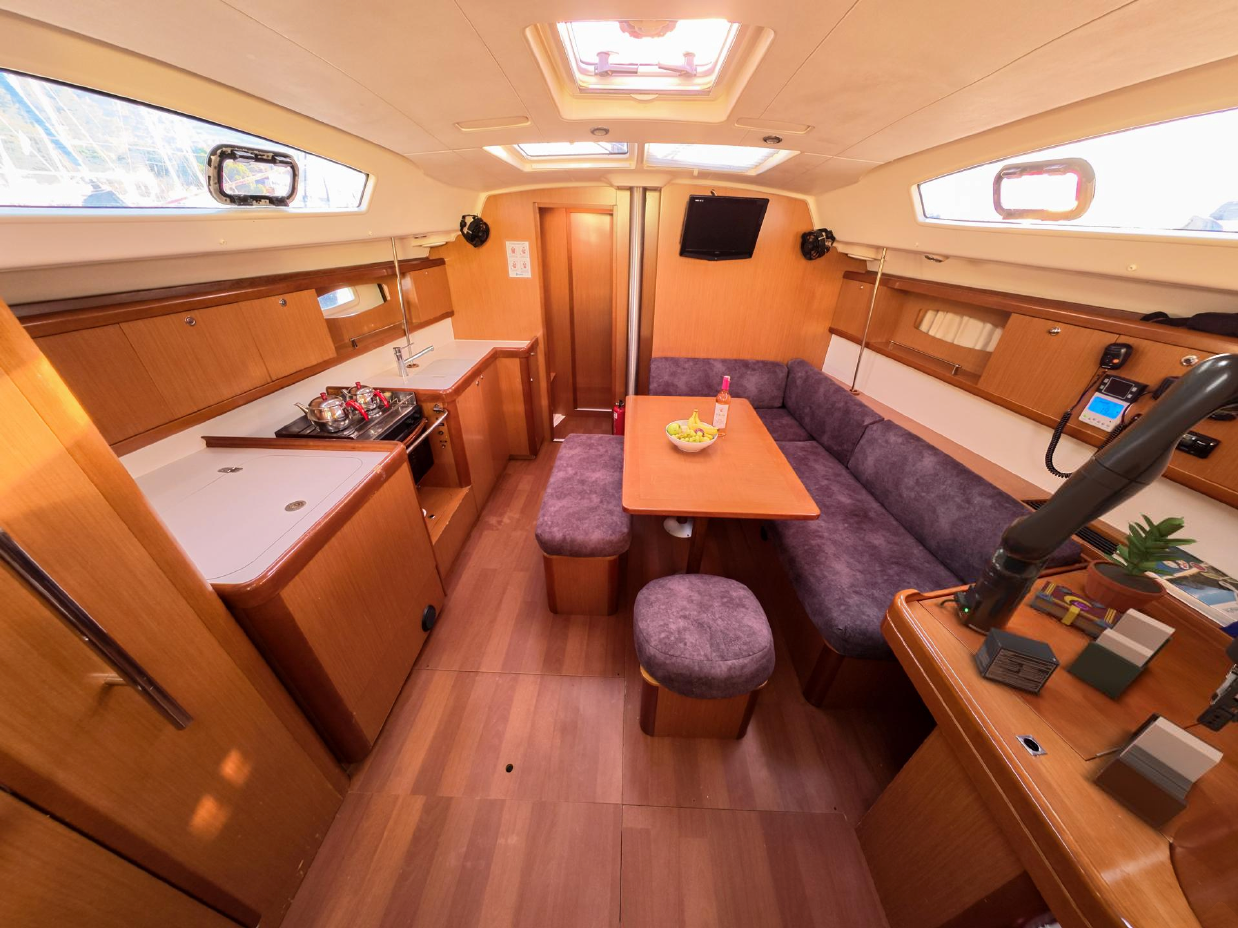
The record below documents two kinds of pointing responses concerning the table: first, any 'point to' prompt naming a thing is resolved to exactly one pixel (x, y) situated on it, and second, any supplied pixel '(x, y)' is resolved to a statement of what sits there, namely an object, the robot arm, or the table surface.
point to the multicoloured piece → (1121, 652)
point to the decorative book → (1075, 609)
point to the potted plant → (1135, 567)
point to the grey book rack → (1145, 781)
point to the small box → (1016, 661)
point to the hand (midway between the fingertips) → (1213, 714)
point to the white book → (1178, 749)
